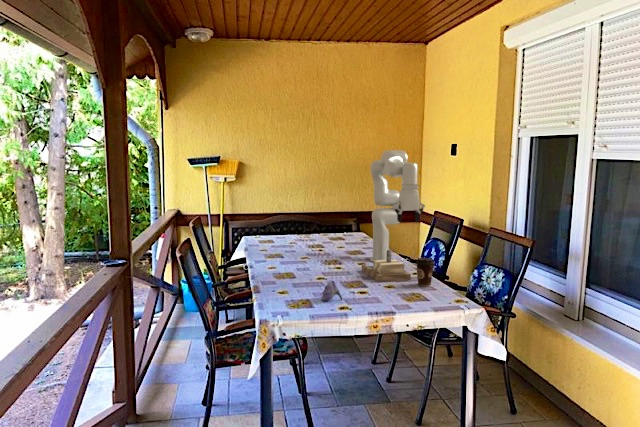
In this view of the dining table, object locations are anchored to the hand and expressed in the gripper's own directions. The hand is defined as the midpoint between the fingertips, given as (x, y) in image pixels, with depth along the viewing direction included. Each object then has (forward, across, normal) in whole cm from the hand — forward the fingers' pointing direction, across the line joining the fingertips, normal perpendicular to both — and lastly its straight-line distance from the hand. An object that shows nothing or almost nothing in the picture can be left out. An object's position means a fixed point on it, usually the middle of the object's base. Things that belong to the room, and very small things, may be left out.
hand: (408, 221), depth 246 cm
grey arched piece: (+30, +49, +27) cm, 63 cm away
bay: (+29, +8, -9) cm, 32 cm away
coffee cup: (+30, -2, +14) cm, 33 cm away
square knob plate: (+29, +8, -5) cm, 31 cm away
